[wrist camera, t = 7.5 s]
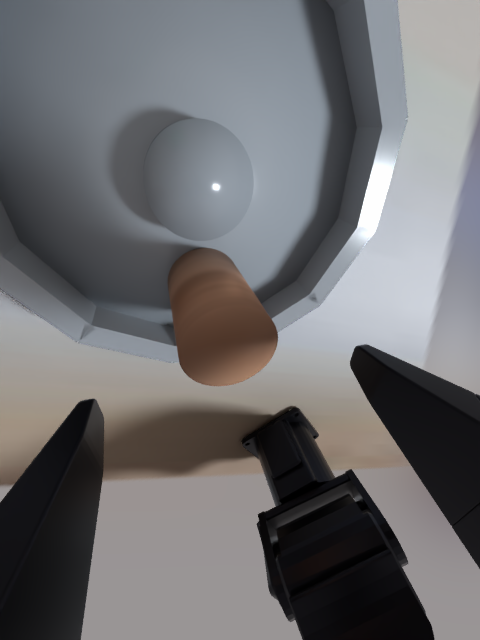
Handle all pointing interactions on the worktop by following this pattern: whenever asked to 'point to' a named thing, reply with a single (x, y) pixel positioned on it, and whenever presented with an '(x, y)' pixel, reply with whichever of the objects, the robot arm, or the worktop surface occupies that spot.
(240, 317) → the brown cork stopper
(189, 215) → the groove tray
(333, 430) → the worktop surface
